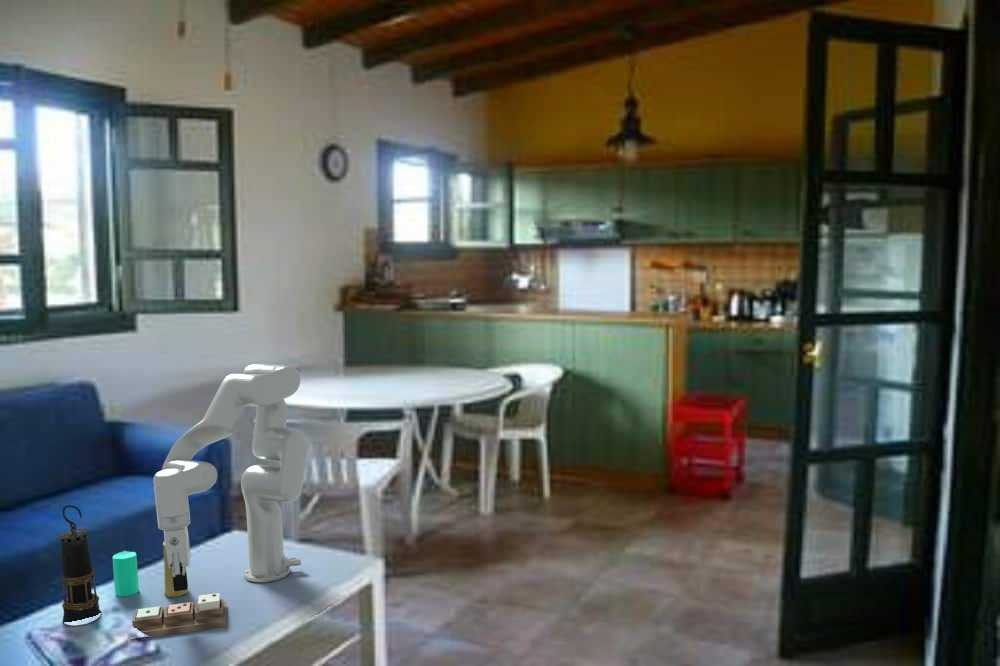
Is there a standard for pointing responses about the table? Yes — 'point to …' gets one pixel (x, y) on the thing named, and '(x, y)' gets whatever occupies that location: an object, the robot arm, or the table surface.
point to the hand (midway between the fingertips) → (181, 589)
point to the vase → (170, 579)
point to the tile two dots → (209, 602)
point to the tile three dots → (179, 608)
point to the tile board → (182, 621)
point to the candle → (125, 573)
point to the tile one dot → (148, 613)
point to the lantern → (77, 574)
